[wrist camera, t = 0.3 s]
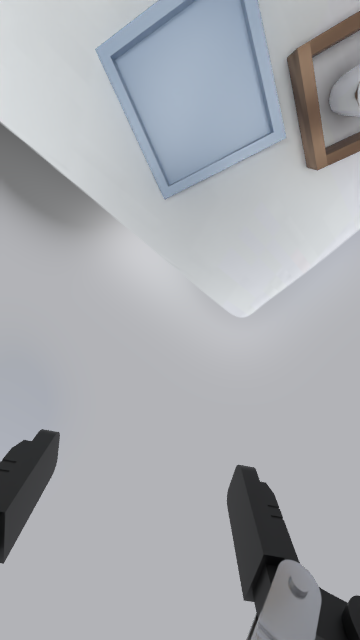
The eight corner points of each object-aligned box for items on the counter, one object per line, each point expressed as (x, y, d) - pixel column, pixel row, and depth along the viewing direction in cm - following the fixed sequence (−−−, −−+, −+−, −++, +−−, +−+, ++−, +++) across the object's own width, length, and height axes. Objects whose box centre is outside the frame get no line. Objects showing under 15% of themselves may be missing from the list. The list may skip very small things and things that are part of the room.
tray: (103, 55, 26) (95, 49, 24) (240, -47, 22) (244, -66, 20) (167, 195, 33) (164, 199, 31) (280, 137, 29) (286, 137, 27)
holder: (286, 58, 25) (297, 48, 23) (408, -15, 22) (438, -36, 19) (306, 167, 30) (317, 170, 27) (408, 119, 27) (432, 118, 24)
